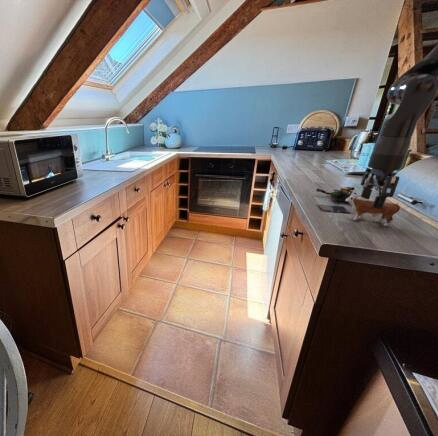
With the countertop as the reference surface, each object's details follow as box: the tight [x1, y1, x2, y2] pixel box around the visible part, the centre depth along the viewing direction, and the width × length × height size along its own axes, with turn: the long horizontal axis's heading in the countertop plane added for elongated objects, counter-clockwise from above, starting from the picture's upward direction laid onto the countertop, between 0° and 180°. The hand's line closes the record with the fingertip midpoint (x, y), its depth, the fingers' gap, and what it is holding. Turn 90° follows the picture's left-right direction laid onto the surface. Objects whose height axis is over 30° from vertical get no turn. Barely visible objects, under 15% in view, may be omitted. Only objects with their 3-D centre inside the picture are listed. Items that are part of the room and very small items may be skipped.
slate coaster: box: [318, 204, 350, 214], centre depth 91 cm, size 8×6×1 cm
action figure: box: [316, 186, 357, 204], centre depth 100 cm, size 6×15×15 cm
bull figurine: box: [344, 193, 401, 227], centre depth 79 cm, size 4×13×8 cm, turn 44°
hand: (370, 204), depth 78 cm, fingers open, 8 cm apart
